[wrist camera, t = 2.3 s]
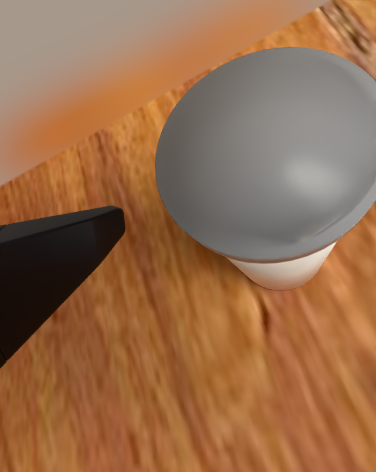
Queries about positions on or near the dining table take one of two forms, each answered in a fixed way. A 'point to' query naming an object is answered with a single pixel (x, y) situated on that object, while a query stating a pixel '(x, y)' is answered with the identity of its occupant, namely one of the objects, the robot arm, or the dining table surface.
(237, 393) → the dining table surface
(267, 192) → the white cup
